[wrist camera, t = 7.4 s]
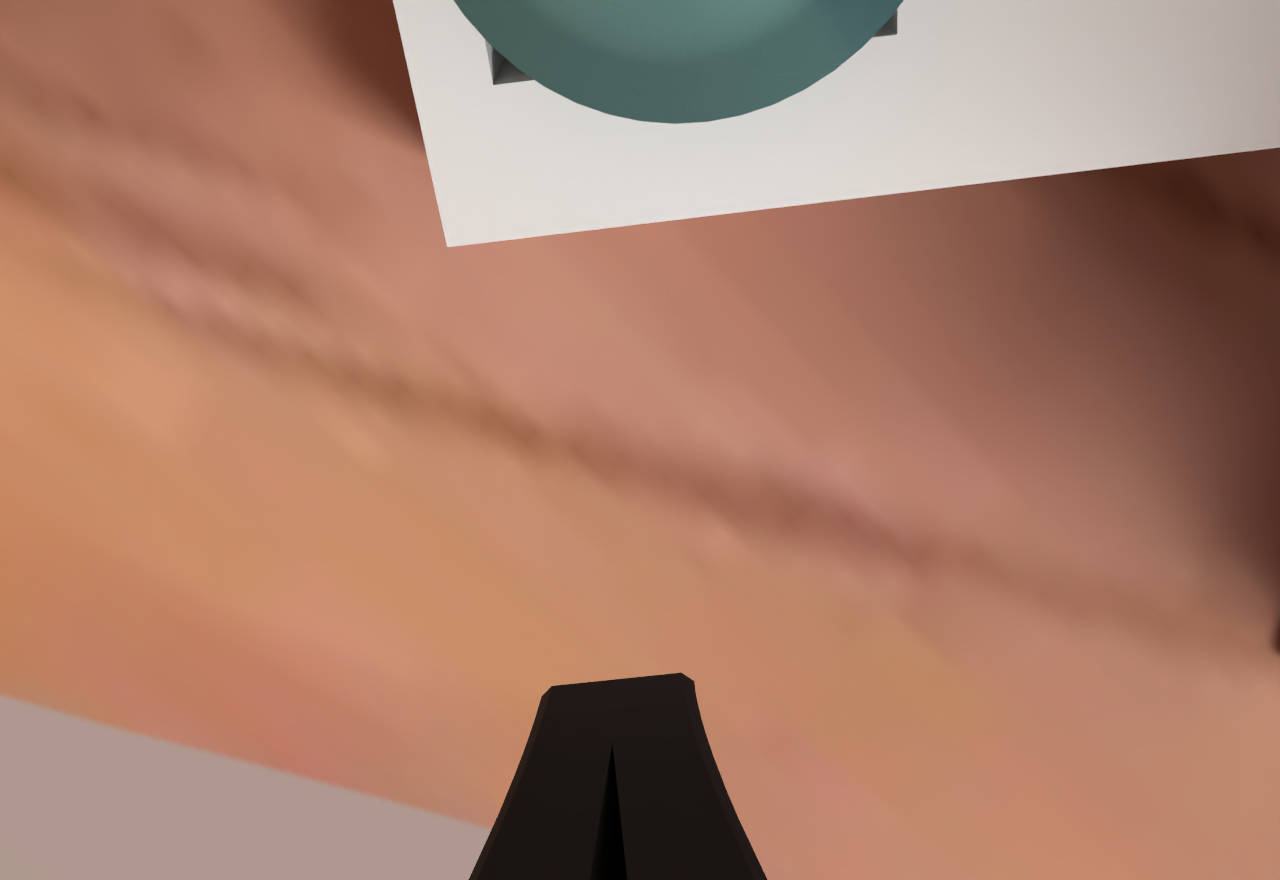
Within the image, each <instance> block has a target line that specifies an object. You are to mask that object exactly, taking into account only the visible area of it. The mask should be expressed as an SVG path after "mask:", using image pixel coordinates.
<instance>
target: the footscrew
mask: <svg viewBox="0 0 1280 880" xmlns="http://www.w3.org/2000/svg"><path fill="white" fill-rule="evenodd" d="M454 2H455V3H456V4H457V6H458V7H459V9H460V10H461V12H462V13H463V15H464V16H465V17H466V18H467V19H468V20H469V21H470V23H471V24H472V25H473V26H474V27H475V28H476V29H477V31H478V32H479V33H480V34H481V35H482V36H483V37H484V38H485V40H486V41H487V42H488V43H489V44H490V45H491V46H492V47H494V48H495V49H496V50H497V51H498V52H499V53H500V54H501V55H503V56H504V57H505V58H506V59H507V60H508V61H509V62H510V63H512V64H513V65H514V66H515V67H516V68H518V69H519V70H521V71H522V72H524V73H525V74H526V75H528V76H529V77H531V78H532V79H534V80H535V81H537V82H538V83H540V84H541V85H543V86H544V87H546V88H548V89H550V90H552V91H553V92H555V93H557V94H559V95H561V96H563V97H565V98H567V99H569V100H571V101H573V102H575V103H577V104H580V105H583V106H586V107H589V108H592V109H594V110H597V111H600V112H603V113H606V114H609V115H614V116H618V117H623V118H628V119H632V120H637V121H644V122H657V123H670V124H679V123H697V122H709V121H715V120H720V119H725V118H730V117H736V116H741V115H744V114H747V113H750V112H753V111H756V110H759V109H762V108H765V107H768V106H771V105H774V104H776V103H778V102H780V101H782V100H784V99H786V98H788V97H790V96H793V95H795V94H797V93H799V92H801V91H803V90H805V89H806V88H808V87H810V86H811V85H813V84H814V83H816V82H817V81H819V80H821V79H822V78H824V77H825V76H827V75H828V74H830V73H832V72H833V71H835V70H836V69H837V68H838V67H839V66H841V65H842V64H843V63H844V62H845V61H847V60H848V59H849V58H850V57H852V56H853V55H854V54H855V53H856V52H858V51H859V50H860V49H861V48H862V47H863V46H864V45H865V44H866V43H867V42H868V41H869V40H870V39H871V38H872V37H873V36H874V35H875V34H876V33H877V32H878V31H879V30H880V29H881V28H882V27H883V25H884V24H885V23H886V22H887V21H888V20H889V19H890V18H891V16H892V15H893V14H894V12H895V11H896V10H897V8H898V7H899V6H900V4H901V3H902V2H903V0H454Z"/></svg>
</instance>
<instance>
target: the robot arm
mask: <svg viewBox="0 0 1280 880" xmlns="http://www.w3.org/2000/svg"><path fill="white" fill-rule="evenodd" d="M469 880H767V878H766V876H765V874H764V872H763V870H762V867H761V865H760V863H759V861H758V859H757V857H756V855H755V853H754V851H753V848H752V846H751V844H750V842H749V840H748V838H747V836H746V834H745V831H744V829H743V827H742V825H741V823H740V821H739V819H738V817H737V814H736V812H735V810H734V807H733V805H732V803H731V800H730V798H729V796H728V793H727V791H726V788H725V786H724V783H723V780H722V778H721V775H720V773H719V770H718V767H717V765H716V762H715V760H714V757H713V754H712V751H711V748H710V745H709V742H708V739H707V736H706V733H705V730H704V726H703V723H702V720H701V716H700V711H699V707H698V703H697V698H696V693H695V685H694V681H693V680H691V679H690V678H688V677H687V676H685V675H684V674H682V673H675V674H665V675H655V676H646V677H636V678H626V679H616V680H607V681H597V682H587V683H578V684H568V685H558V686H552V687H551V688H550V689H549V690H548V691H547V692H546V693H545V694H544V695H543V696H542V697H541V701H540V704H539V708H538V711H537V714H536V718H535V721H534V724H533V727H532V730H531V733H530V735H529V738H528V741H527V744H526V747H525V750H524V752H523V755H522V758H521V760H520V763H519V766H518V768H517V771H516V773H515V776H514V778H513V781H512V783H511V786H510V788H509V790H508V793H507V795H506V798H505V800H504V803H503V805H502V808H501V810H500V812H499V815H498V817H497V819H496V821H495V824H494V826H493V828H492V830H491V832H490V835H489V837H488V839H487V841H486V843H485V845H484V848H483V850H482V852H481V854H480V856H479V859H478V861H477V863H476V865H475V867H474V870H473V872H472V874H471V876H470V878H469Z"/></svg>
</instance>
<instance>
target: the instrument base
mask: <svg viewBox="0 0 1280 880" xmlns="http://www.w3.org/2000/svg"><path fill="white" fill-rule="evenodd" d="M393 3H394V8H395V12H396V17H397V21H398V26H399V31H400V35H401V40H402V44H403V49H404V53H405V58H406V62H407V67H408V71H409V76H410V81H411V85H412V90H413V94H414V99H415V103H416V108H417V112H418V117H419V121H420V126H421V130H422V135H423V140H424V144H425V149H426V153H427V158H428V162H429V167H430V171H431V176H432V180H433V185H434V190H435V194H436V199H437V203H438V208H439V212H440V217H441V221H442V226H443V230H444V235H445V239H446V244H447V247H453V246H461V245H470V244H478V243H486V242H495V241H503V240H512V239H520V238H528V237H537V236H545V235H553V234H562V233H570V232H578V231H587V230H595V229H603V228H612V227H620V226H628V225H637V224H645V223H654V222H662V221H670V220H679V219H687V218H695V217H704V216H712V215H720V214H729V213H737V212H745V211H754V210H762V209H770V208H779V207H787V206H796V205H804V204H812V203H821V202H829V201H837V200H846V199H854V198H862V197H871V196H879V195H887V194H896V193H904V192H912V191H921V190H929V189H938V188H946V187H954V186H963V185H971V184H979V183H988V182H996V181H1004V180H1013V179H1021V178H1029V177H1038V176H1046V175H1054V174H1063V173H1071V172H1080V171H1088V170H1096V169H1105V168H1113V167H1121V166H1130V165H1138V164H1146V163H1155V162H1163V161H1171V160H1180V159H1188V158H1197V157H1205V156H1213V155H1222V154H1230V153H1238V152H1247V151H1255V150H1263V149H1272V148H1280V0H903V2H902V3H901V4H900V6H899V7H898V8H897V10H896V11H895V12H894V14H893V15H892V16H891V18H890V19H889V20H888V21H887V22H886V23H885V24H884V25H883V27H882V28H881V29H880V30H879V31H878V32H877V33H876V34H875V35H874V36H873V37H872V38H871V39H870V40H869V41H868V42H867V43H866V44H865V45H864V46H863V47H862V48H861V49H860V50H859V51H858V52H856V53H855V54H854V55H853V56H852V57H850V58H849V59H848V60H847V61H845V62H844V63H843V64H842V65H841V66H839V67H838V68H837V69H836V70H835V71H833V72H832V73H830V74H828V75H827V76H825V77H824V78H822V79H821V80H819V81H817V82H816V83H814V84H813V85H811V86H810V87H808V88H806V89H805V90H803V91H801V92H799V93H797V94H795V95H793V96H790V97H788V98H786V99H784V100H782V101H780V102H778V103H776V104H774V105H771V106H768V107H765V108H762V109H759V110H756V111H753V112H750V113H747V114H744V115H741V116H736V117H730V118H725V119H720V120H715V121H709V122H697V123H679V124H670V123H657V122H644V121H637V120H632V119H628V118H623V117H618V116H614V115H609V114H606V113H603V112H600V111H597V110H594V109H592V108H589V107H586V106H583V105H580V104H577V103H575V102H573V101H571V100H569V99H567V98H565V97H563V96H561V95H559V94H557V93H555V92H553V91H552V90H550V89H548V88H546V87H544V86H543V85H541V84H540V83H538V82H537V81H535V80H534V79H532V78H531V77H529V76H528V75H526V74H525V73H524V72H522V71H521V70H519V69H518V68H516V67H515V66H514V65H513V64H512V63H510V62H509V61H508V60H507V59H506V58H505V57H504V56H503V55H501V54H500V53H499V52H498V51H497V50H496V49H495V48H494V47H492V46H491V45H490V44H489V43H488V42H487V41H486V40H485V38H484V37H483V36H482V35H481V34H480V33H479V32H478V31H477V29H476V28H475V27H474V26H473V25H472V24H471V23H470V21H469V20H468V19H467V18H466V17H465V16H464V15H463V13H462V12H461V10H460V9H459V7H458V6H457V4H456V3H455V2H454V0H393Z"/></svg>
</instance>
